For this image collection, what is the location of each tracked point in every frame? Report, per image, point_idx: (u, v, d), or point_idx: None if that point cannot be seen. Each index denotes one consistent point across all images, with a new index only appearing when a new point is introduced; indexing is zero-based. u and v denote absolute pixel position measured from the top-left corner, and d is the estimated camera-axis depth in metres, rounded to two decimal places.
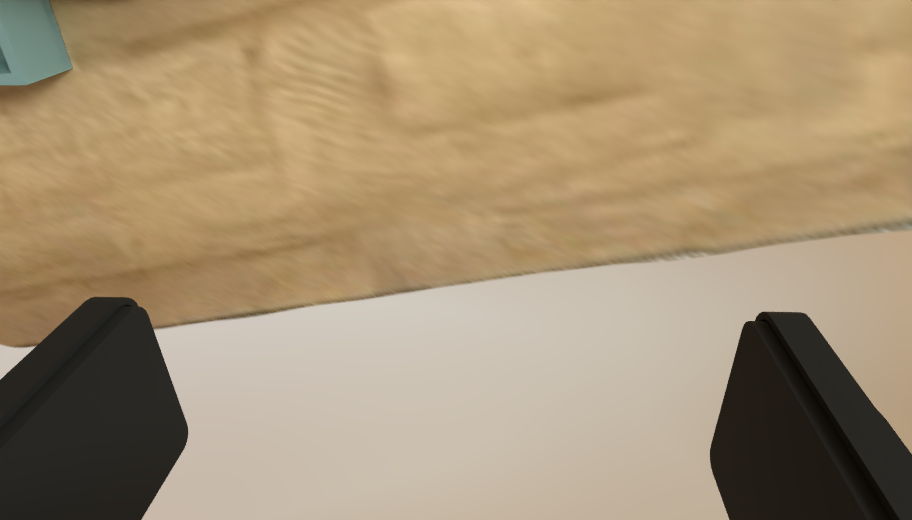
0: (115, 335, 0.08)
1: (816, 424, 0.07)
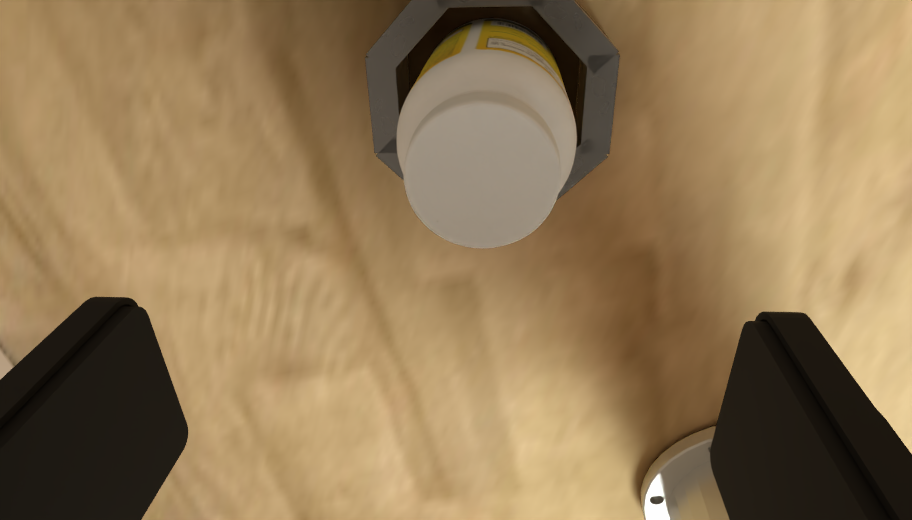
0: (115, 335, 0.08)
1: (816, 424, 0.07)
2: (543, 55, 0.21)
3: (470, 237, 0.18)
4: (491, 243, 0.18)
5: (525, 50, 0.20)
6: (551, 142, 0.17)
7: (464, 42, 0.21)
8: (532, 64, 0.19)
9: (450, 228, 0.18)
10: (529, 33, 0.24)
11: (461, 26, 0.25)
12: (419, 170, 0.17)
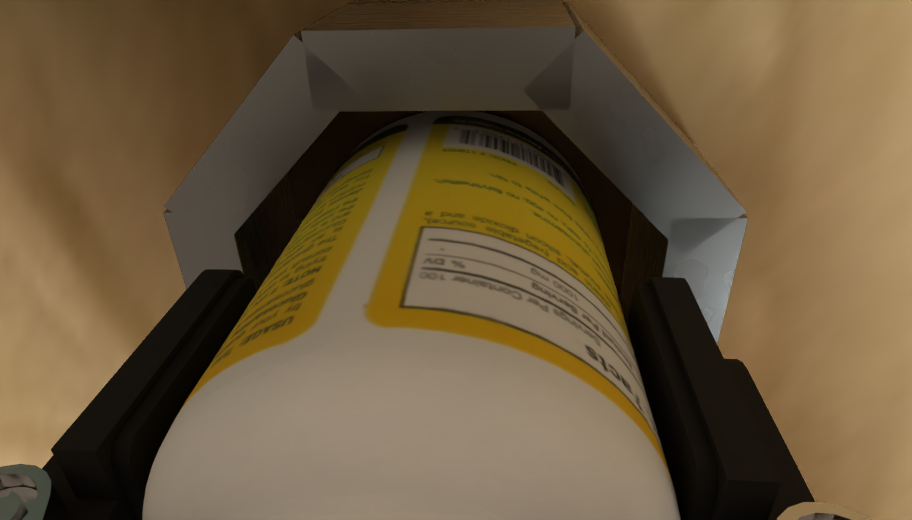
0: (233, 303, 0.09)
1: (668, 368, 0.07)
2: (572, 250, 0.08)
3: None
4: None
5: (526, 281, 0.07)
6: None
7: (356, 237, 0.07)
8: (552, 387, 0.05)
9: None
10: (533, 156, 0.11)
11: (386, 130, 0.11)
12: None
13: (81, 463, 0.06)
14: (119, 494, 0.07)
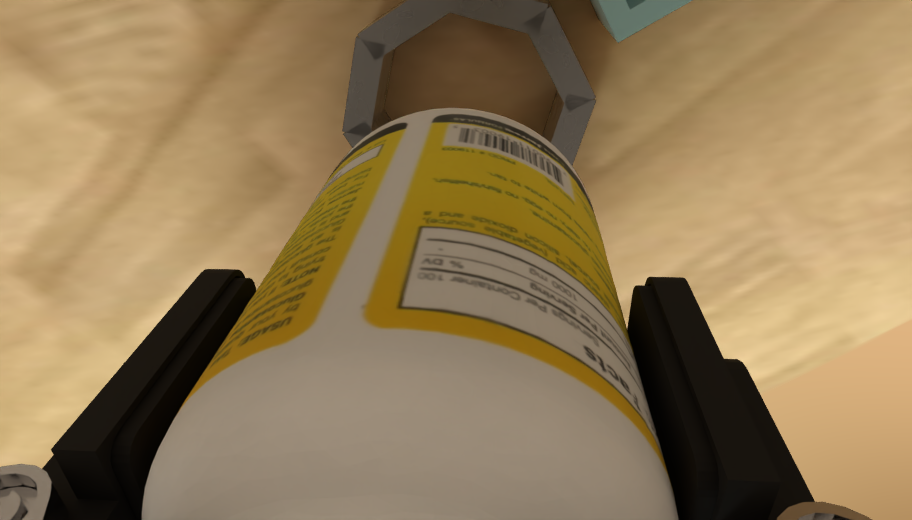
0: (234, 303, 0.09)
1: (668, 368, 0.07)
2: (571, 250, 0.08)
3: None
4: None
5: (525, 281, 0.07)
6: None
7: (354, 237, 0.07)
8: (550, 388, 0.05)
9: None
10: (533, 155, 0.10)
11: (385, 129, 0.11)
12: None
13: (82, 463, 0.06)
14: (120, 494, 0.07)
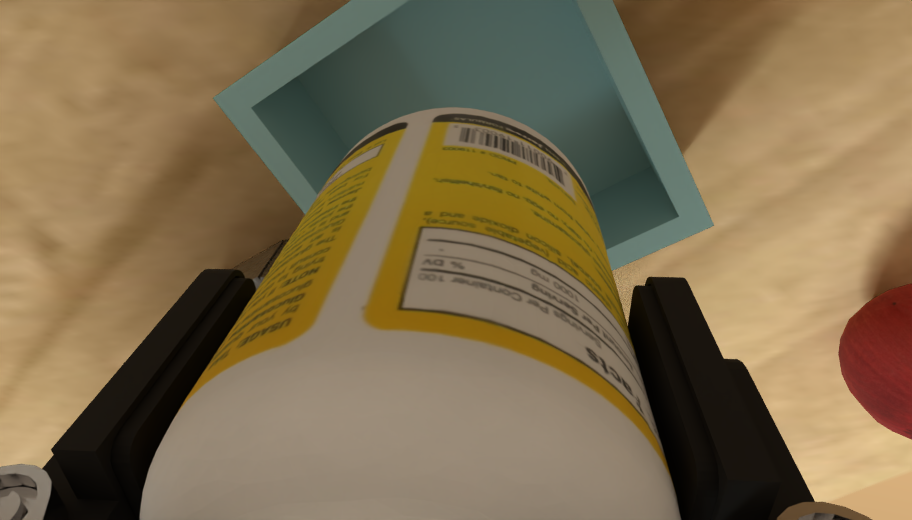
0: (233, 303, 0.09)
1: (668, 368, 0.07)
2: (573, 250, 0.08)
3: None
4: None
5: (526, 282, 0.07)
6: None
7: (354, 237, 0.07)
8: (552, 390, 0.05)
9: None
10: (534, 155, 0.10)
11: (385, 128, 0.11)
12: None
13: (81, 463, 0.06)
14: (119, 494, 0.07)
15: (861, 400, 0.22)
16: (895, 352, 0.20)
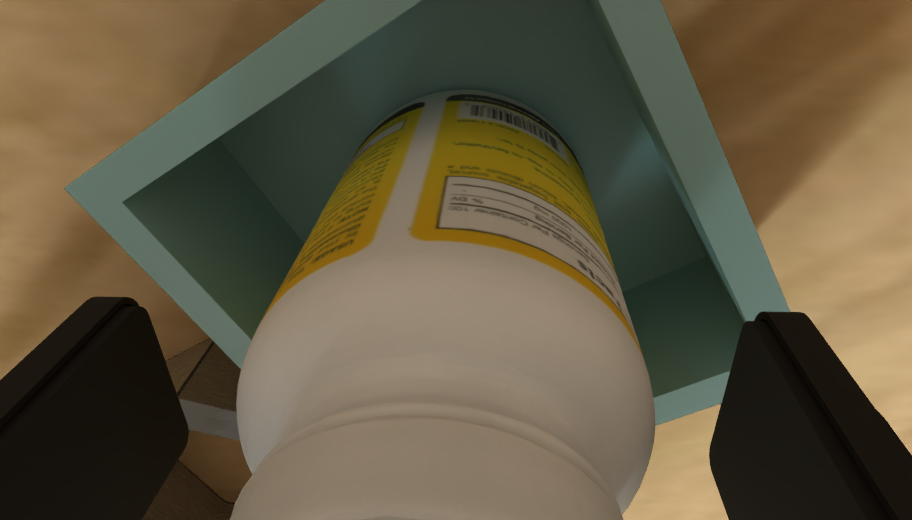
0: (116, 335, 0.08)
1: (815, 424, 0.07)
2: (567, 197, 0.10)
3: None
4: None
5: (531, 214, 0.09)
6: None
7: (393, 185, 0.09)
8: (552, 281, 0.07)
9: None
10: (533, 127, 0.12)
11: (405, 108, 0.13)
12: None
13: None
14: None
15: None
16: None
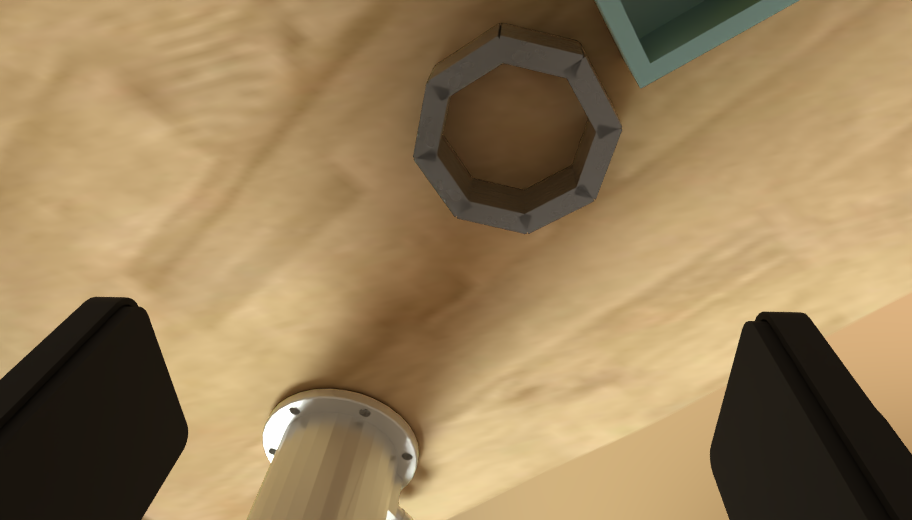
0: (115, 335, 0.08)
1: (816, 424, 0.07)
2: None
3: None
4: None
5: None
6: None
7: None
8: None
9: None
10: None
11: None
12: None
13: None
14: None
15: None
16: None
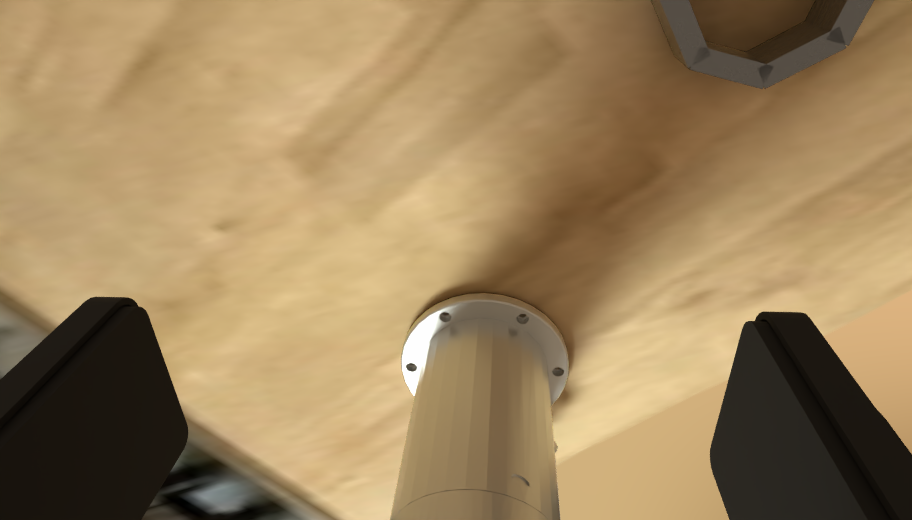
0: (115, 335, 0.08)
1: (816, 424, 0.07)
2: None
3: None
4: None
5: None
6: None
7: None
8: None
9: None
10: None
11: None
12: None
13: None
14: None
15: None
16: None
